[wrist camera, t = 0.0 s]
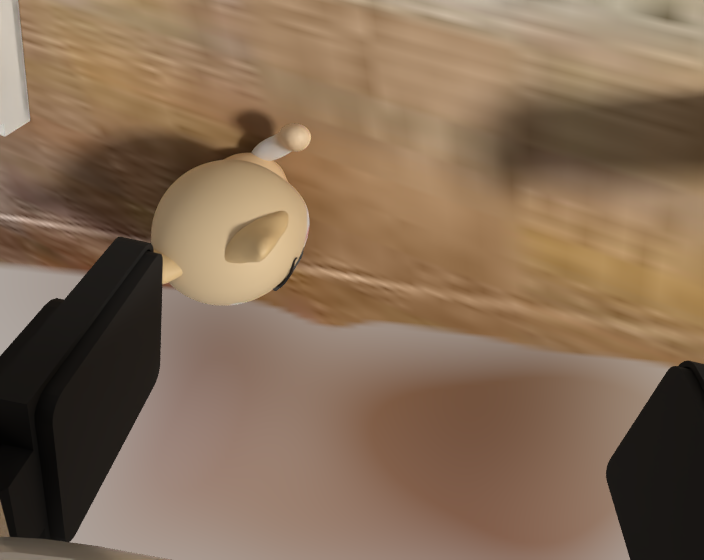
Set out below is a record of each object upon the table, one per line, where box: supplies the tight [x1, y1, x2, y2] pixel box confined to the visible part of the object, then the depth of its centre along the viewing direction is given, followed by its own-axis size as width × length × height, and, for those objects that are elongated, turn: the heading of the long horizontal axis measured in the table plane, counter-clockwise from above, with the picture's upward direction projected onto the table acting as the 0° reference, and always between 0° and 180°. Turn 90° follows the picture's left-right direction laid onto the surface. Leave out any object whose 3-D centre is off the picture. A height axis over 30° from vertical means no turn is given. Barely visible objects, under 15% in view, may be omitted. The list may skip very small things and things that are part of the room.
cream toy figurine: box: [151, 123, 311, 306], centre depth 44 cm, size 15×10×15 cm
